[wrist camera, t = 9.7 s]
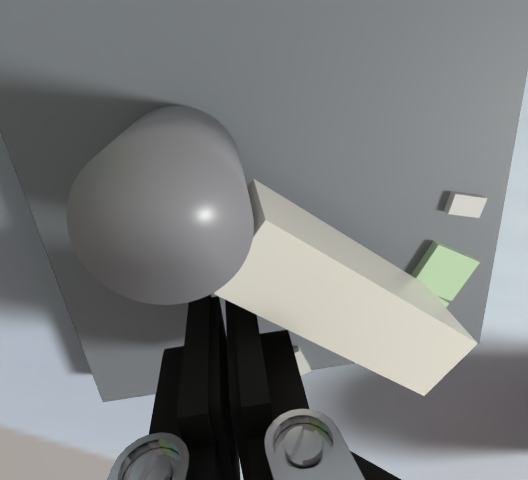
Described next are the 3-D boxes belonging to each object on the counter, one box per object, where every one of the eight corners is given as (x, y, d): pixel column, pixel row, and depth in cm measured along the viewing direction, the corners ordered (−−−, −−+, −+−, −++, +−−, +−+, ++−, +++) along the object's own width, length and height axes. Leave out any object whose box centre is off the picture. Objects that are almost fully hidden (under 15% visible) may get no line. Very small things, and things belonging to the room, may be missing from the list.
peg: (97, 186, 10) (36, 257, 7) (154, 78, 9) (117, 95, 6) (361, 326, 13) (415, 426, 9) (424, 254, 12) (509, 335, 8)
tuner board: (-47, -74, 9) (-95, -98, 7) (525, -123, 9) (577, -152, 8) (111, 376, 14) (100, 410, 13) (459, 323, 15) (484, 350, 14)
